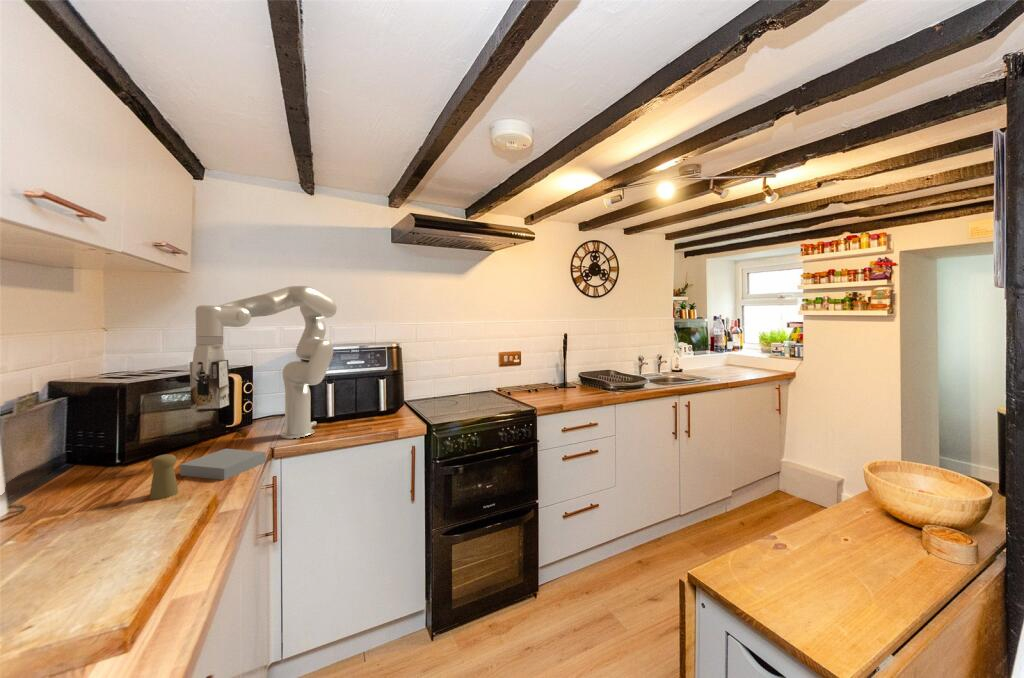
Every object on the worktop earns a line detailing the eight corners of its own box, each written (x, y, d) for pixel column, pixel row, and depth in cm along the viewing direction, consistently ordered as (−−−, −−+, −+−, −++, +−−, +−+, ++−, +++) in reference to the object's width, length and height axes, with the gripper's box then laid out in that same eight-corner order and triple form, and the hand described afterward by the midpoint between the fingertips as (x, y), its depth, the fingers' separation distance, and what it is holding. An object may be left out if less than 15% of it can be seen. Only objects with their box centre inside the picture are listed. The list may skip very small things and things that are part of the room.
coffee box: (230, 404, 139) (229, 359, 138) (219, 408, 133) (219, 361, 132) (201, 405, 137) (200, 359, 137) (189, 409, 131) (189, 361, 130)
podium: (225, 458, 138) (225, 448, 138) (265, 462, 135) (265, 452, 135) (180, 475, 122) (180, 464, 122) (224, 480, 119) (224, 468, 119)
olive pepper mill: (168, 498, 106) (168, 459, 106) (143, 500, 105) (142, 459, 105) (183, 489, 112) (183, 451, 112) (159, 490, 111) (159, 452, 111)
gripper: (214, 340, 142) (214, 388, 143) (179, 342, 125) (180, 398, 126) (236, 340, 143) (236, 389, 144) (204, 342, 126) (205, 398, 126)
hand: (210, 392), depth 135 cm, fingers closed on coffee box, 6 cm apart
